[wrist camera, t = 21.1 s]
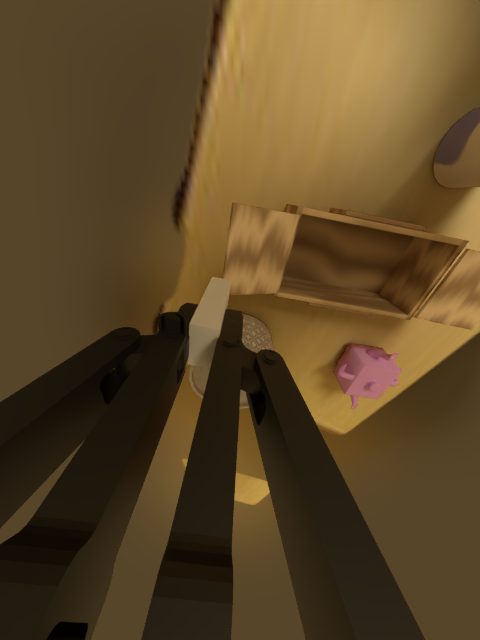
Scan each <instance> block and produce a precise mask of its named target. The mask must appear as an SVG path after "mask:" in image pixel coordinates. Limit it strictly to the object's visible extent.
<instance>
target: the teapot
mask: <svg viewBox="0 0 480 640" xmlns="http://www.w3.org/2000/svg"><path fill="white" fill-rule="evenodd" d="M345 349H346V350H345V352H344V354H343V355H342V357H341V358H340V360H338V361H337V365H336V367H335V368H334V370H333V371H334V373H335V375H336V377H337V380H338V382H339V384H340V386H341V388H342V390H343V392H344V394H348V395H350V396H351V399H352V406H351V408H352V409H354V408H356V406H357V404H358V396H360V397H367V398H374V399H378V398H379V397H380V396H381V395H382V394H383V392H384V391H385V390H386V389H387V388H388V387H389V386H396V385H398V383H399V382H398V380H397V379H396V378H397V376H398V375H399V374H400V373H401V372H402V370H401V369H400V368H399V367H398V366H397V365H396V363H395V362H394V361H393V360H394V359H395V358H396V357H397V356H398V353H394V354H391V355H389V354H387V353H386V352H385V351H384V350H383V348H378V347H372V346H366V345H360V344H355V343H350V344H349V345H348V346H346V348H345Z"/></svg>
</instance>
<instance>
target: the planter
mask: <svg viewBox="0 0 480 640" xmlns="http://www.w3.org/2000/svg"><path fill="white" fill-rule="evenodd" d="M243 316H244V317H243V333H242V342H243V344H244V346H245V347H246V348H248V349H249V350H251V351H253V352H256V353H258V351H260V350H263V349H269V350H273V345H272V338H271V335H270V332H269V330H268V329H267V327H266V326H265V325H264V324H263V323H262V322H261V321H259V320H258V319H256V318H254V317H252V316H249V315H246V314H243ZM209 371H210V368H206V367H199V366H193V365H191V367H190V370H189V382H190V384H191V387H192V388H193V390H194V391H195V393H197V395H198V396H200V397H201V398H202V399H203V396H204V392H205V388H206V383H207V379H208V375H209ZM242 408H249V404H248V400H247V396H246V392H245V391H243V390H240V407H239V409H242Z"/></svg>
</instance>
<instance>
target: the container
mask: <svg viewBox="0 0 480 640" xmlns="http://www.w3.org/2000/svg"><path fill="white" fill-rule="evenodd" d="M434 175H435V178H436V180H437V181H438V183H439V184H441V185H442V186H444V187H447V188H464V187H480V107H479V108H476V109H474V110H472V111H471V112H469V113H468V114H466V115H465V116H463V117H462V118H461V119H460V120H459V121H458V122H456V123H455V124H454V126H453V127H452V128H451V129H450V130H449V131H448V133H447V134H446V135H445V137H444V138H443V140H442V142H441V144H440V146H439V148H438V150H437V153H436V156H435V159H434Z"/></svg>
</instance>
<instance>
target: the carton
mask: <svg viewBox="0 0 480 640" xmlns="http://www.w3.org/2000/svg"><path fill="white" fill-rule="evenodd" d="M285 212H286V213H291V214H297V215H300V216H299V219H298V222H297V226H296V229H295V233H294V236H293V239H292V243H291V246H290V249H289V253H288V256H287V260H286V263H285V266H284V270H283V273H282V276H281V280H280V283H279V287H278V290H277V293H273V294H272V295H273V296H278V297H284V298H289V299H295V300H301V301H306V302H307V303H308V304H309V305H314V306H319V307H325V308H330V309H336V310H342V311H347V312H353V313H359V314H364V315H370V316H371V314H372V313H373V314H379V315H385V316H390V317H396V318H401V319H407V320H410V319H411V317H412V316H413V315H414V313H415V312H416V311H417V309H418V308H419V307H420V305H421V304H422V303H423V301H424V300H425V299H426V297H427V296H428V295H429V293H430V292H431V291H432V289H433V288H434V287H435V285H436V284H437V283H438V282H439V280H440V279H441V278H442V276H443V275H444V274H445V272H446V271H447V270H448V268H449V267H450V266H451V264H452V263H453V262H454V260H455V259H456V258H457V256H458V255H459V254H460V252H461V251H462V250H463V248H464V247H465V246H466V244H467V243H468V242H469V241H466V240H461V239H456V238H451V237H446V236H442V235H437V234H432V233H427V232H422V231H423V230H424V228H425V227H426V226H421V225H416V224H411V223H406V222H401V221H397V220H392V219H387V218H382V217H377V216H372V215H367V214H363V213H358V212H353V211H348V210H341V209H334V208H330V211H329V212H332V213H329V212H324V211H319V210H314V209H309V208H304V207H299V206H294V205H289V204H287V207H286V210H285ZM334 213H336V214H334ZM339 214H341V215H339ZM344 215H346V216H344ZM348 216H351V217H348ZM353 217H356V218H353ZM358 218H361V219H358ZM363 219H366V220H363ZM368 220H371V221H368ZM373 221H376V222H373ZM378 222H381V223H378ZM383 223H385V224H383ZM388 224H390V225H388ZM393 225H395V226H393ZM397 226H400V227H397ZM402 227H406V228H402ZM407 228H411V229H407ZM412 229H416V230H412ZM417 230H421V231H417Z"/></svg>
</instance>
